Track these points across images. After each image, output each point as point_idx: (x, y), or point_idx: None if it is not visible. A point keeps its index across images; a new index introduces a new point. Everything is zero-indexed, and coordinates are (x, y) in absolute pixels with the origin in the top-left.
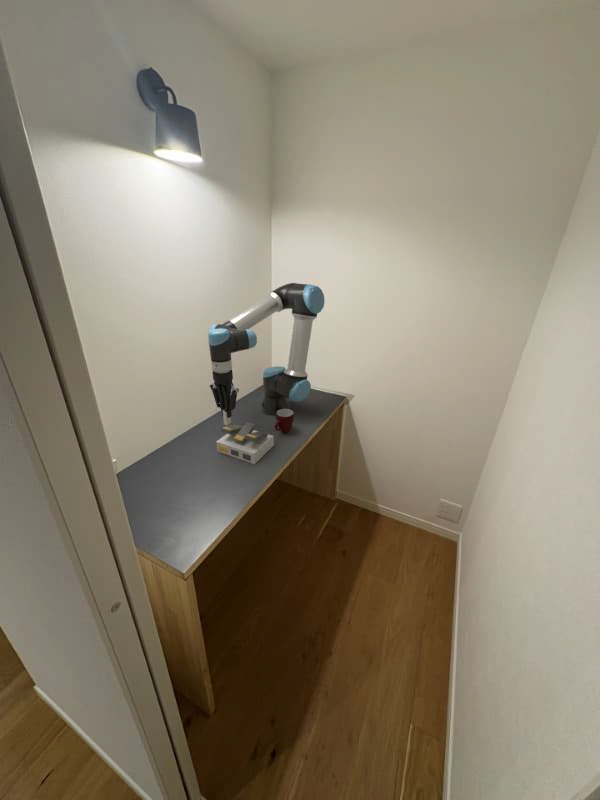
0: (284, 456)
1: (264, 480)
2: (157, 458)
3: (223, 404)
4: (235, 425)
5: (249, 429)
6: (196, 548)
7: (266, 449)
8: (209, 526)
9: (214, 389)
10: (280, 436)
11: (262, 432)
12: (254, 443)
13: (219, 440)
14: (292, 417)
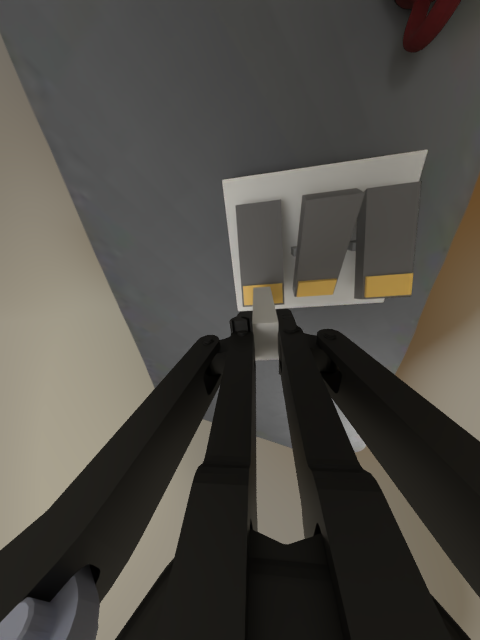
0: (452, 204)
1: (412, 321)
2: (162, 369)
3: (255, 380)
4: (244, 224)
5: (343, 236)
6: (360, 438)
7: None
8: None
9: (111, 576)
10: (402, 62)
11: (392, 192)
12: None
13: (241, 302)
14: None
